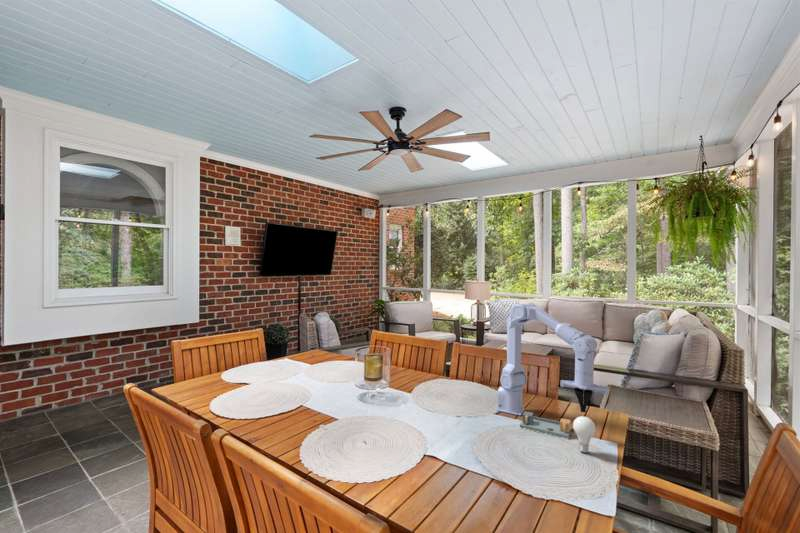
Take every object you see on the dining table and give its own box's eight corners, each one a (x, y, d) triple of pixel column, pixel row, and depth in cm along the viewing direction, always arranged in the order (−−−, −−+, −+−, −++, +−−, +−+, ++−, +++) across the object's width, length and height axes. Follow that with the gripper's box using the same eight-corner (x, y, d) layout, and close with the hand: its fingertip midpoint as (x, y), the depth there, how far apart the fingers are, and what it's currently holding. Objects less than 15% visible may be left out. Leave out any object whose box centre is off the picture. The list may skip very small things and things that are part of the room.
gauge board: (519, 427, 131) (520, 416, 131) (525, 418, 139) (525, 407, 139) (568, 439, 123) (568, 426, 123) (571, 428, 131) (571, 416, 131)
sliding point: (559, 431, 125) (559, 422, 125) (561, 426, 129) (561, 418, 129) (568, 433, 124) (569, 424, 124) (570, 428, 128) (570, 420, 128)
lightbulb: (593, 449, 116) (593, 414, 116) (596, 458, 110) (597, 422, 110) (571, 445, 118) (572, 411, 118) (573, 454, 112) (574, 419, 112)
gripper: (559, 370, 124) (558, 410, 124) (608, 377, 117) (607, 420, 117) (562, 366, 131) (561, 404, 130) (608, 372, 123) (607, 413, 123)
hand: (583, 411), depth 124 cm, fingers closed
